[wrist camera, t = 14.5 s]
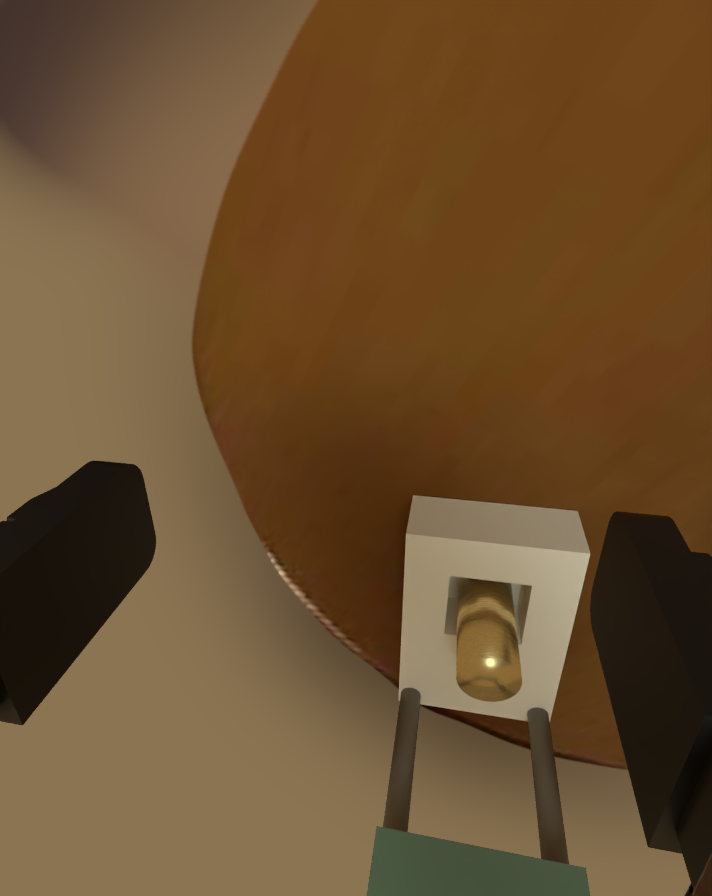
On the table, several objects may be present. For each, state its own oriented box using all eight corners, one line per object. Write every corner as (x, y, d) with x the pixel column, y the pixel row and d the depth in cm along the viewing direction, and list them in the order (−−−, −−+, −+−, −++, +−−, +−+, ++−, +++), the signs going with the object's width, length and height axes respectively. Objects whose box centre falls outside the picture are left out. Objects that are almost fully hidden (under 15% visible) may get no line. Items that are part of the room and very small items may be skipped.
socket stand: (577, 511, 40) (667, 811, 21) (542, 673, 48) (585, 995, 29) (413, 495, 42) (365, 757, 23) (404, 653, 50) (364, 943, 31)
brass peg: (513, 556, 42) (526, 661, 33) (506, 596, 43) (517, 706, 35) (459, 550, 42) (459, 652, 33) (455, 590, 44) (453, 696, 35)
